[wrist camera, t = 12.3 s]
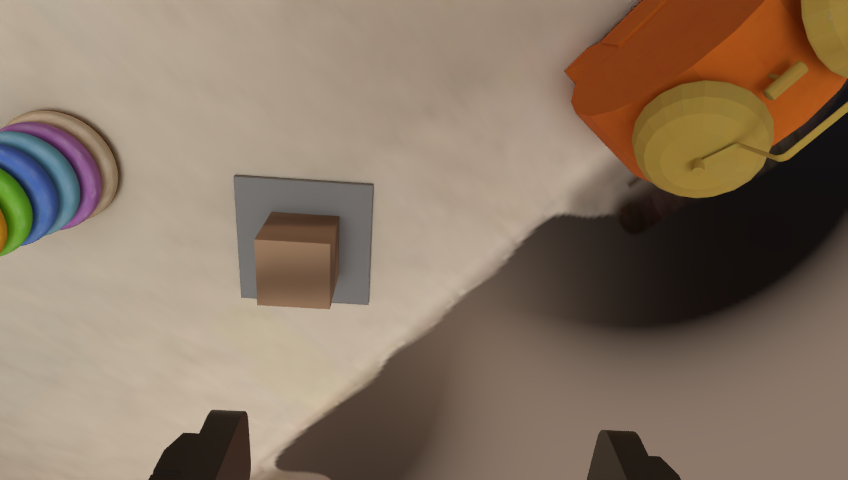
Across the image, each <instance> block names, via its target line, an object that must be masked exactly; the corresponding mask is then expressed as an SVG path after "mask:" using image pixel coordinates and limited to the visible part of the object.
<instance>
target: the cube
mask: <svg viewBox="0 0 848 480" xmlns="http://www.w3.org/2000/svg"><path fill="white" fill-rule="evenodd" d="M254 248H255V267H256V287H257V305H266V306H283V307H301V308H319V309H330V306H331V302H332V299H333V295H334V291H335V287H336V283H337V280H338V276H339V216H329V215H313V214H298V213H282V212H271V213H270V215H269V217H268V218H267V220H266V221H265V223H264V225H263V226H262V228H261V229H260V231H259V232H258V234H257V236H256V237H255V239H254Z"/></svg>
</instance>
